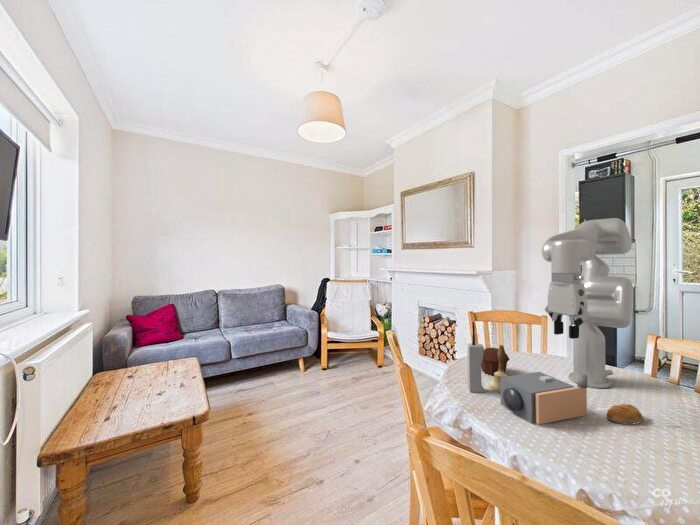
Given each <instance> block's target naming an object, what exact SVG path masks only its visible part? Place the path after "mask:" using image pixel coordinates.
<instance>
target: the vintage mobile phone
mask: <svg viewBox="0 0 700 525" xmlns="http://www.w3.org/2000/svg"><path fill="white" fill-rule="evenodd" d="M471 337H472V342H471V343H468V342H467V344H466V345H467V347H466V348H467V349H466V351H467V352H466V354H467V359H466V360H467V388H468V390H469V392H470V393H479V394H480V393H481V394H483V393H484V394H485V388H484V385H483V384H482V383H483V382H482V368H481V363H482V361H483V352H484V349H485V346H484V344H482V343H476V334H475V322H474V321H473V322H472V336H471Z"/></svg>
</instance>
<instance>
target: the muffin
mask: <svg viewBox="0 0 700 525" xmlns="http://www.w3.org/2000/svg"><path fill="white" fill-rule="evenodd" d="M498 349H499V348H496V347H486V348H484V352H483V361H482V363H481V372H482V371H483V372H484V374H485V375H486V374H488V375H487V376H490V375H491V376H490V377H494V373H495V372H497V371H498V369H499V360H498V355H497V352H498ZM509 361H510V358H509V356H508V354H507V353H506V352H505V359H504V373H506V372H507V365H508V362H509ZM483 372H482V373H483Z"/></svg>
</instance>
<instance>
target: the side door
mask: <svg viewBox="0 0 700 525" xmlns="http://www.w3.org/2000/svg"><path fill="white" fill-rule="evenodd" d="M576 384H577V385H576V386H574V387H572V388H566V389H560V390H554V391H548V392H542V393H536V423H535V424H537V425H543V424H547V423H548V424H549V423H552V422H553V423H554V422H557V421H562V420H568V419H569V420H570V419H573V418H578V417H582V416H588V412H587V410H588V409H587V407H588V406H587V405H588V404H587V402H588V397H587V393H588V392H587V391H588V390H587V389H588V386H587V375H584V374H577V383H576Z"/></svg>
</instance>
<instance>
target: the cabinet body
mask: <svg viewBox="0 0 700 525" xmlns="http://www.w3.org/2000/svg"><path fill="white" fill-rule="evenodd" d="M500 379H501V392H500V405H501V406H503V407H504V408H505V409H508V410H509V411H511V412H512V413H513V414H516V415H517V416H519V417H520V418H522V419H523V420H524V421H526V422H528V423H530V424H531V425H533V424H537V423H536V393H542V392H548V391H554V390H560V389H566V388H572V387H575V386H574V385H573V384H570V383H568V382H565V381H562V380H560V379H557V378H556V377H553V376H551V375H548V374H546V373H544V372H541V371H534V372H527V373H520V374H514V375H508V376H506V377H500Z"/></svg>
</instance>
